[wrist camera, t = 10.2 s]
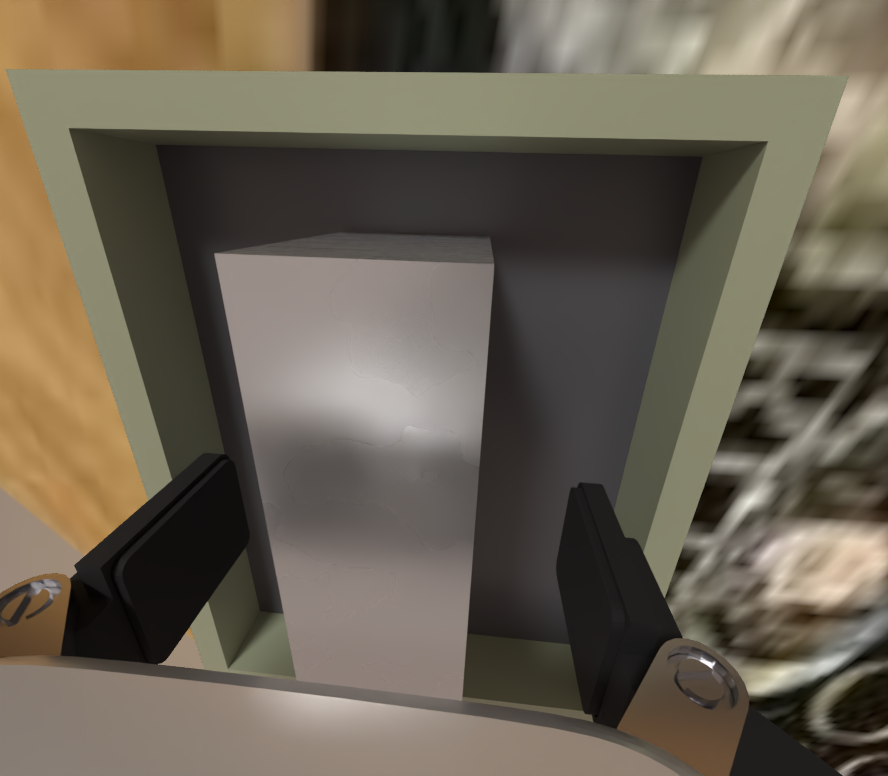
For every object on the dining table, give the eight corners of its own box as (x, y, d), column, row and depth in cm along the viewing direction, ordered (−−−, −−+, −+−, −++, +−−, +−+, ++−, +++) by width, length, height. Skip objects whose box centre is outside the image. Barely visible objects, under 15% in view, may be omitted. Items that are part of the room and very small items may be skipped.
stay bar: (489, 236, 11) (494, 263, 6) (465, 600, 17) (455, 790, 11) (345, 231, 11) (214, 253, 6) (369, 590, 17) (314, 771, 12)
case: (736, 116, 10) (848, 76, 7) (594, 640, 18) (617, 731, 15) (139, 107, 11) (5, 69, 8) (253, 604, 20) (208, 682, 16)
